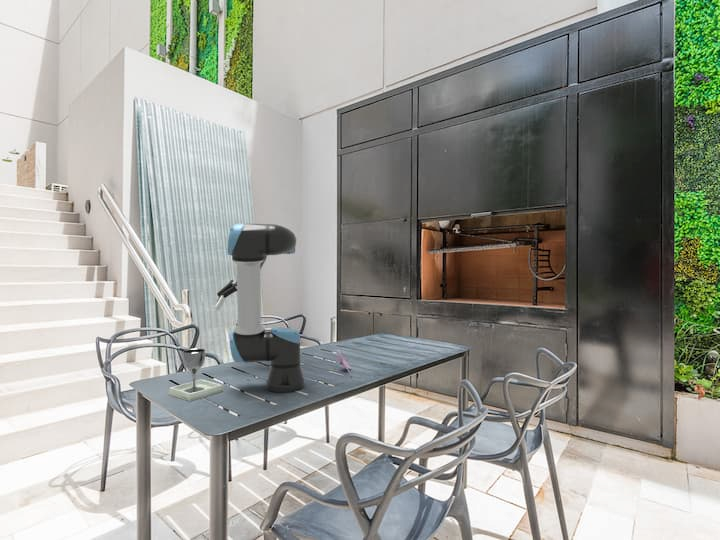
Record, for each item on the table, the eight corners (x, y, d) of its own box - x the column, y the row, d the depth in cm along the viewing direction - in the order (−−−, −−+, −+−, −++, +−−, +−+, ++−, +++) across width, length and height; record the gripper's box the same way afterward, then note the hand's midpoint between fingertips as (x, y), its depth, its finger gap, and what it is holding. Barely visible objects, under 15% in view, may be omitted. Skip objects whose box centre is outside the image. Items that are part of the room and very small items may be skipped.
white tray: (222, 391, 149) (222, 385, 149) (189, 401, 138) (189, 394, 138) (202, 385, 157) (202, 379, 157) (169, 394, 146) (169, 387, 146)
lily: (340, 378, 171) (351, 359, 172) (320, 365, 177) (331, 346, 178) (351, 380, 182) (361, 361, 183) (332, 367, 187) (341, 349, 188)
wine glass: (178, 391, 146) (177, 351, 146) (195, 385, 153) (195, 347, 153) (192, 394, 143) (192, 353, 142) (210, 388, 150) (209, 349, 150)
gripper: (275, 279, 183) (259, 315, 168) (229, 279, 189) (209, 313, 175) (270, 268, 177) (253, 304, 163) (222, 268, 184) (202, 302, 169)
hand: (230, 309), depth 169 cm, fingers open, 13 cm apart
